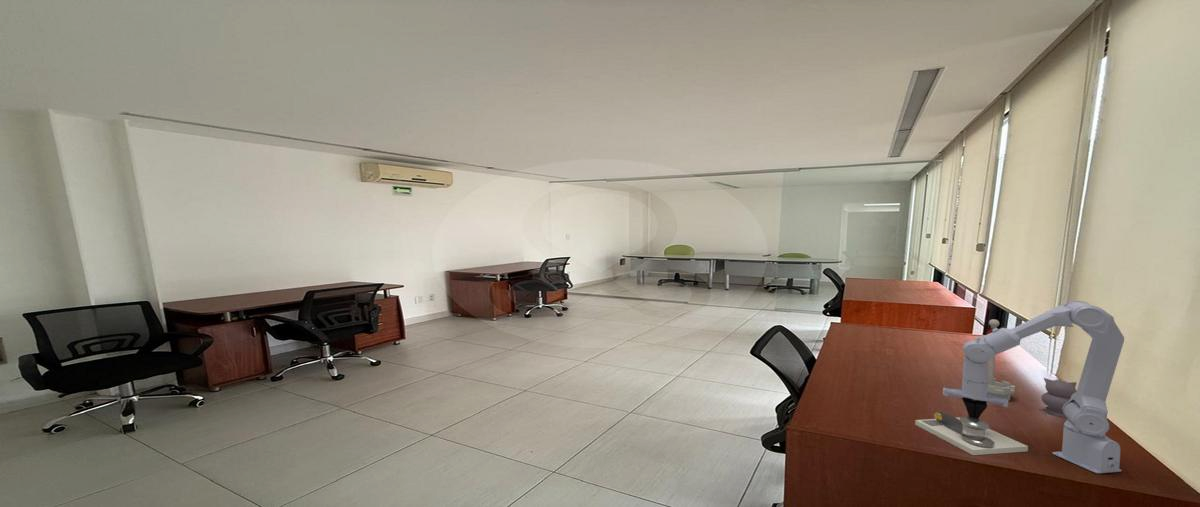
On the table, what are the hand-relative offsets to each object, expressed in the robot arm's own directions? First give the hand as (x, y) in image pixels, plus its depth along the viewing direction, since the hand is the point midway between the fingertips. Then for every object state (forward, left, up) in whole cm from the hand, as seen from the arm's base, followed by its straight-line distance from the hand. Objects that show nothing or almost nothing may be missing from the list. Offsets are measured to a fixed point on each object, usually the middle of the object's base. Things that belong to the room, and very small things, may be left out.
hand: (972, 423), depth 122 cm
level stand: (0, +2, -4) cm, 5 cm away
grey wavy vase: (+10, -46, -4) cm, 47 cm away
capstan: (-1, +5, -2) cm, 5 cm away
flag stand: (+27, -40, -4) cm, 48 cm away
